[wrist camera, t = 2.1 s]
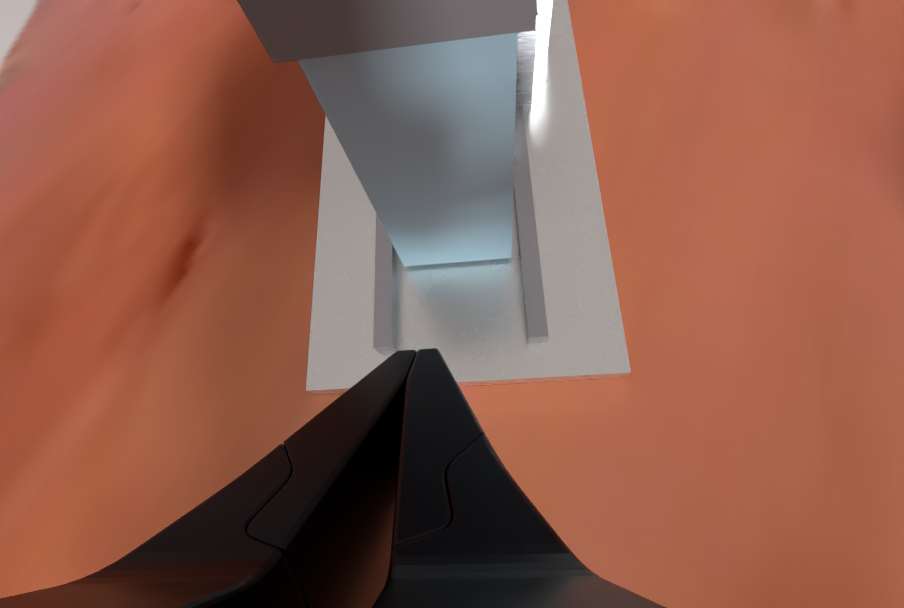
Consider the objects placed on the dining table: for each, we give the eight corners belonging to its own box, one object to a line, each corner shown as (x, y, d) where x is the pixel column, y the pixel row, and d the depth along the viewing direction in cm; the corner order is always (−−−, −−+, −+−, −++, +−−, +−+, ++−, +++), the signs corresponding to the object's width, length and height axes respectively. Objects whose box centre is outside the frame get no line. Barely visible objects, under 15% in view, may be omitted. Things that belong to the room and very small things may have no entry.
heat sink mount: (623, 377, 20) (687, 332, 13) (316, 394, 21) (224, 361, 14) (560, -10, 28) (578, -166, 21) (340, 20, 29) (288, -119, 22)
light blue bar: (518, 267, 20) (540, -53, 8) (397, 276, 21) (231, -10, 8) (506, 132, 23) (507, -277, 10) (398, 144, 24) (271, -232, 11)
